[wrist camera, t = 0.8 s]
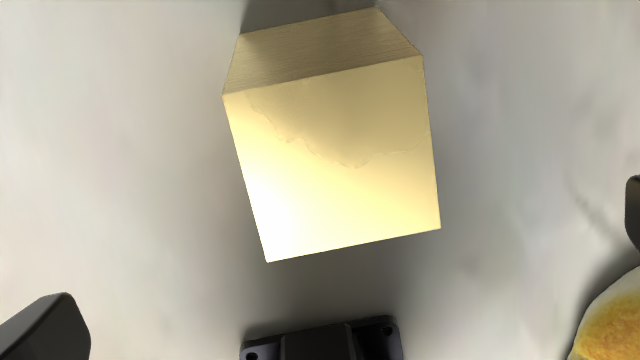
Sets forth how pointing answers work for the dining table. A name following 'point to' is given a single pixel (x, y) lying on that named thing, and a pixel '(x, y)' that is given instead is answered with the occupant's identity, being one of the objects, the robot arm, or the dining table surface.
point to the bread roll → (611, 323)
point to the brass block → (332, 133)
